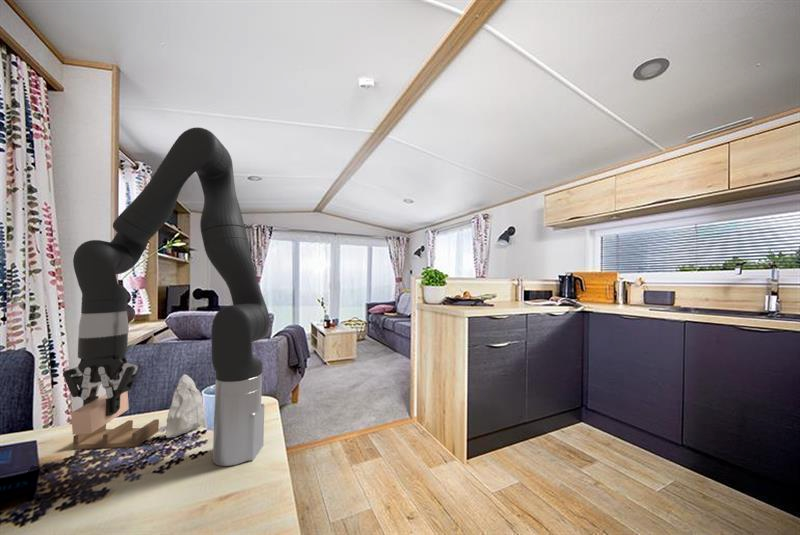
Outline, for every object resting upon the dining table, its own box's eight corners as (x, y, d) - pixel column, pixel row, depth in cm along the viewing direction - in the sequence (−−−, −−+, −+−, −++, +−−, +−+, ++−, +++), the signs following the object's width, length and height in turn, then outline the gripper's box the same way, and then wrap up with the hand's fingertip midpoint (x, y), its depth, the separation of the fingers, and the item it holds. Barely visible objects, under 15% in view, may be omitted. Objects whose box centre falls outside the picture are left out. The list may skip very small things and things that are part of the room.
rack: (158, 431, 75) (158, 419, 75) (136, 446, 68) (136, 433, 68) (101, 433, 73) (102, 421, 74) (72, 449, 66) (73, 435, 67)
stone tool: (168, 443, 69) (171, 379, 70) (162, 440, 70) (165, 377, 71) (206, 428, 76) (209, 370, 77) (200, 425, 78) (202, 368, 79)
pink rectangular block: (128, 409, 67) (127, 390, 67) (91, 433, 58) (90, 411, 58) (112, 410, 66) (111, 391, 66) (72, 434, 58) (71, 412, 57)
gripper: (152, 329, 67) (150, 405, 66) (84, 332, 66) (82, 409, 65) (125, 334, 60) (122, 420, 59) (48, 337, 58) (44, 426, 57)
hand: (101, 414), depth 62 cm, fingers closed on pink rectangular block, 3 cm apart
